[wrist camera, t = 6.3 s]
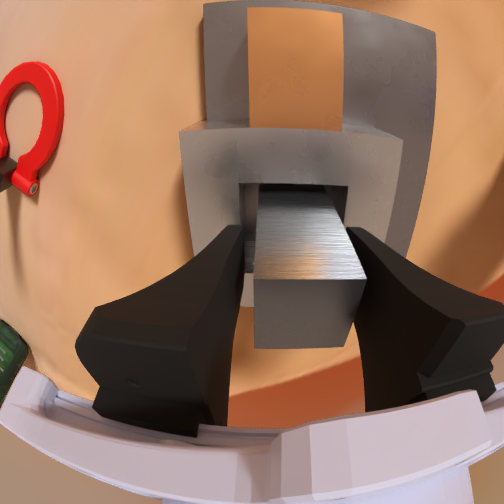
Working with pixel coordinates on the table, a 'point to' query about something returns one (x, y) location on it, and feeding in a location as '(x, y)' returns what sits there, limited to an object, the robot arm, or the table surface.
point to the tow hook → (49, 88)
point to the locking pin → (303, 270)
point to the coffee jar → (10, 357)
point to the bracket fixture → (310, 117)
